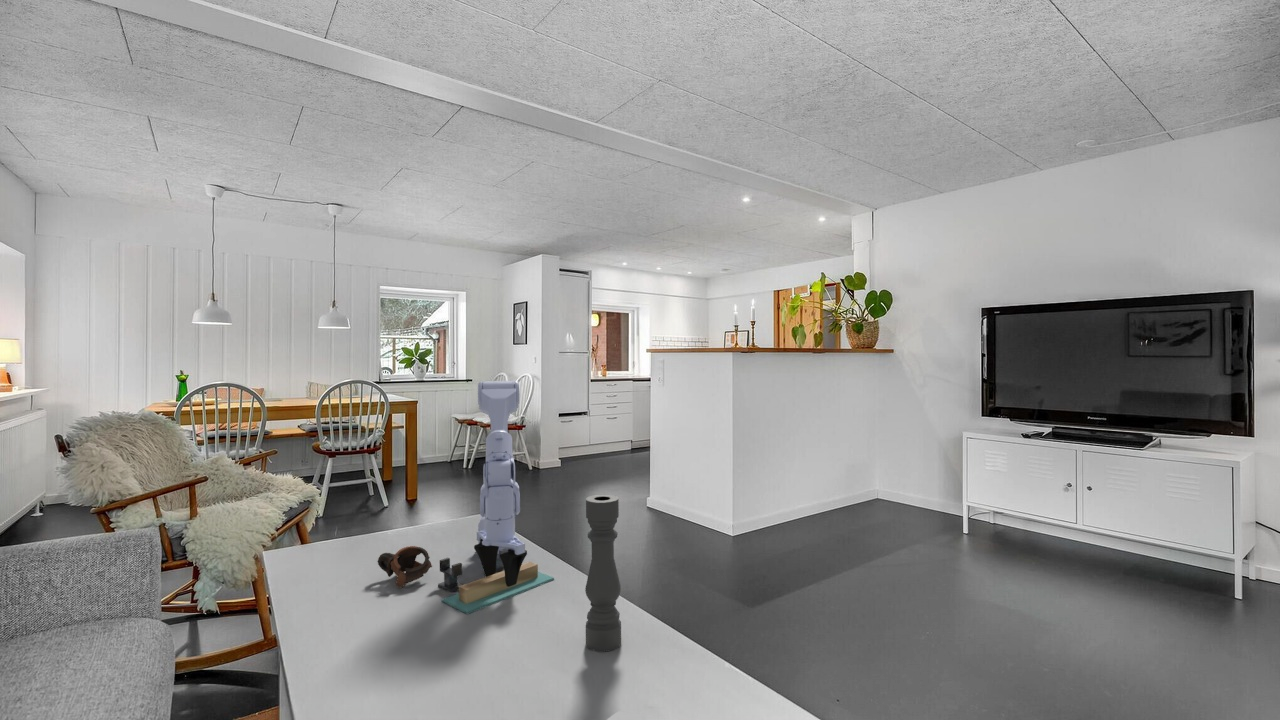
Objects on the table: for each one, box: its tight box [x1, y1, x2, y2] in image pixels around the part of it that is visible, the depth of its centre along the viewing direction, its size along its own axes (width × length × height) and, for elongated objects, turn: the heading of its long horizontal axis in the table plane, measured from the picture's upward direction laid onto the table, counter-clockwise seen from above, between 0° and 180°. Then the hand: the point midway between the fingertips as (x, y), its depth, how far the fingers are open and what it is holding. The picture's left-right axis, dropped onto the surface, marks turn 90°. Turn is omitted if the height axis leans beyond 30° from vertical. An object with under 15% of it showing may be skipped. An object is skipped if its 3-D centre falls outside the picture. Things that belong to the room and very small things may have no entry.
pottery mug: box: [376, 545, 433, 588], centre depth 128 cm, size 12×10×8 cm
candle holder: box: [584, 494, 622, 652], centre depth 99 cm, size 6×6×25 cm
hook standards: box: [438, 549, 508, 593], centre depth 128 cm, size 6×15×6 cm, turn 139°
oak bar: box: [458, 561, 539, 604], centre depth 122 cm, size 3×18×3 cm, turn 139°
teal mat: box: [441, 571, 555, 615], centre depth 122 cm, size 9×22×1 cm, turn 139°
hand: (500, 580), depth 122 cm, fingers open, 7 cm apart
